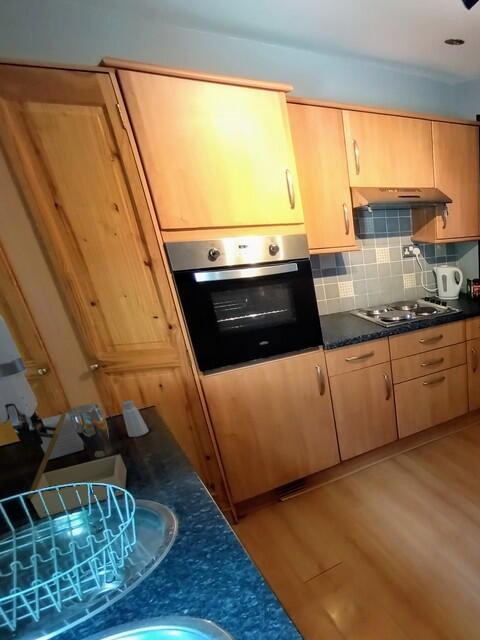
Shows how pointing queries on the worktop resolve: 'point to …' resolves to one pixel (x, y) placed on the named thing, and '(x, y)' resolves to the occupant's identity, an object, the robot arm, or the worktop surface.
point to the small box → (62, 437)
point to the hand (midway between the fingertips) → (36, 439)
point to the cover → (49, 449)
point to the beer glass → (92, 430)
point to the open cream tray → (93, 472)
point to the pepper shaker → (133, 420)
